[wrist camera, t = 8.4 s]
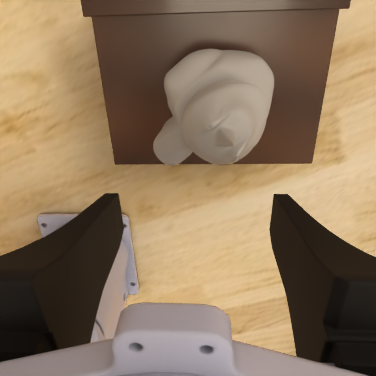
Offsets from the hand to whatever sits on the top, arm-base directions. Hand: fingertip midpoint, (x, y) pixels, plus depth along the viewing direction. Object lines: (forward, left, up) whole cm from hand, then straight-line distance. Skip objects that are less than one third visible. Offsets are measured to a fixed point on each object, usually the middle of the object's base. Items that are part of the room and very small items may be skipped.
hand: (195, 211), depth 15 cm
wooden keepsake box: (+4, -1, -10) cm, 11 cm away
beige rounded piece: (+4, -1, -6) cm, 7 cm away
